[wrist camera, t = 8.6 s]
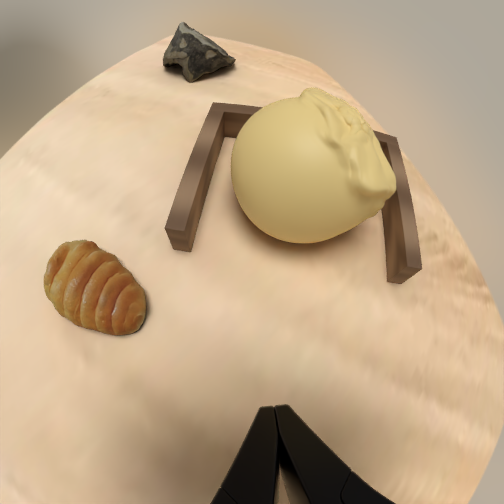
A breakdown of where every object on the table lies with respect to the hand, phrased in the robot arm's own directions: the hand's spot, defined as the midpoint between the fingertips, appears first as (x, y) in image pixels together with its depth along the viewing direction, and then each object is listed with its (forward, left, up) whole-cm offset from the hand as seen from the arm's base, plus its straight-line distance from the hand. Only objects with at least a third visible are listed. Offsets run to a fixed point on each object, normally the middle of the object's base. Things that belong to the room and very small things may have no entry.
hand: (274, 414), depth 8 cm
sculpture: (+17, -2, -13) cm, 21 cm away
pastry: (+5, +14, -13) cm, 20 cm away
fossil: (+41, +14, -13) cm, 45 cm away
